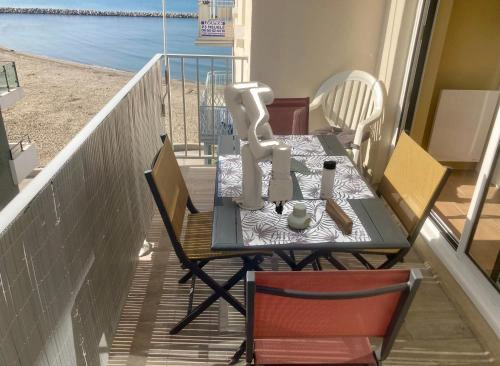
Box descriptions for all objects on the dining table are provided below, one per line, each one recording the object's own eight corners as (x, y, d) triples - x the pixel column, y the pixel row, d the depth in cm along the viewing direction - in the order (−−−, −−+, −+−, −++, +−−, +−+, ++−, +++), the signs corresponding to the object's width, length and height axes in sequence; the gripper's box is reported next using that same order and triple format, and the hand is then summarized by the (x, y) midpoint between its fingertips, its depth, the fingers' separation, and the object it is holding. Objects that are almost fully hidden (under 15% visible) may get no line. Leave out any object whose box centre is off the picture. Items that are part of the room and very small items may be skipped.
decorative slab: (313, 160, 256) (313, 157, 255) (314, 176, 235) (315, 173, 234) (271, 158, 258) (271, 155, 258) (268, 173, 237) (268, 170, 236)
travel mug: (323, 201, 207) (327, 164, 198) (317, 195, 212) (321, 159, 204) (334, 200, 208) (339, 163, 200) (328, 194, 214) (333, 158, 205)
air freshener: (297, 217, 191) (299, 198, 187) (312, 224, 187) (314, 204, 182) (283, 227, 184) (285, 207, 179) (299, 233, 179) (301, 213, 175)
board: (345, 234, 179) (346, 222, 177) (325, 210, 199) (326, 198, 196) (351, 233, 180) (353, 221, 178) (331, 209, 199) (332, 198, 197)
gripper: (265, 178, 167) (264, 219, 174) (300, 175, 170) (298, 215, 177) (260, 172, 173) (260, 211, 181) (294, 169, 176) (292, 207, 184)
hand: (279, 213), depth 179 cm, fingers closed
